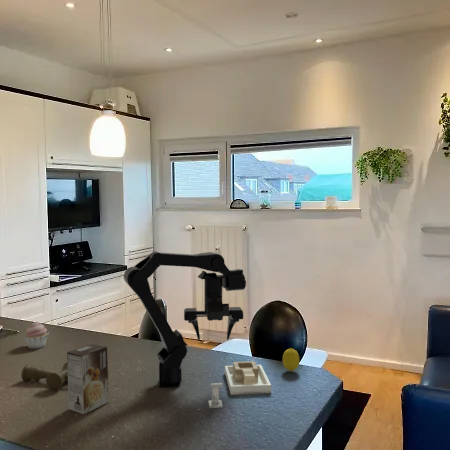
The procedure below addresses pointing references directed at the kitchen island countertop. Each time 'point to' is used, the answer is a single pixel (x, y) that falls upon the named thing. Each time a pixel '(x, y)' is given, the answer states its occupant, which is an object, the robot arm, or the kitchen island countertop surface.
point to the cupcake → (36, 336)
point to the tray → (239, 388)
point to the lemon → (290, 359)
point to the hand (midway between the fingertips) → (213, 340)
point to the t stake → (215, 396)
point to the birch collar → (245, 372)
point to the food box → (87, 378)
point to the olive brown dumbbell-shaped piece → (46, 376)
